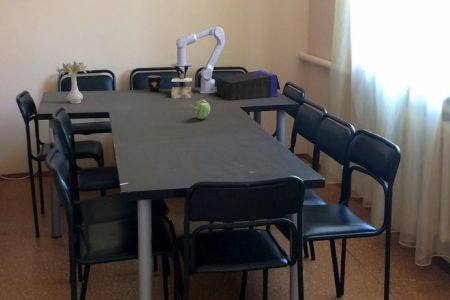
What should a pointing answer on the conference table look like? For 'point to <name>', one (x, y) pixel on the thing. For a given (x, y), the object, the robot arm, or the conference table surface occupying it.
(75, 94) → the flower vase
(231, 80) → the headphone box
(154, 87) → the coffee mug
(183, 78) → the lid
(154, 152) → the conference table surface
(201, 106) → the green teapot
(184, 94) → the box
